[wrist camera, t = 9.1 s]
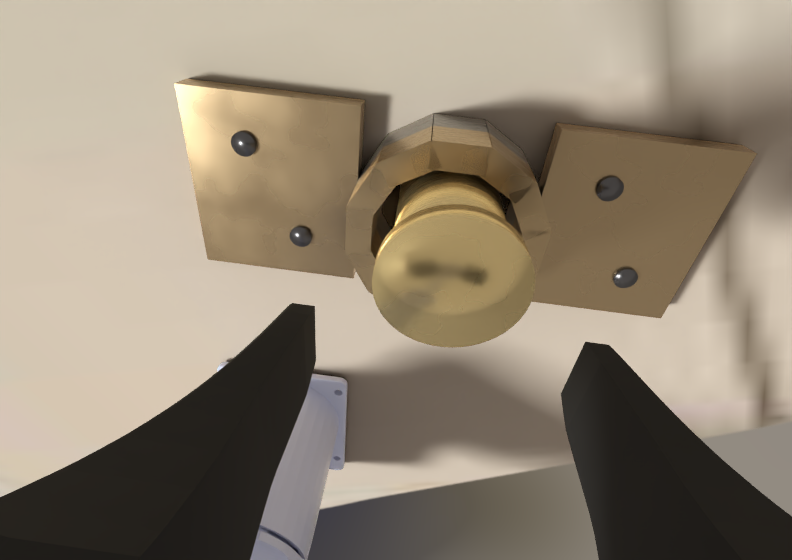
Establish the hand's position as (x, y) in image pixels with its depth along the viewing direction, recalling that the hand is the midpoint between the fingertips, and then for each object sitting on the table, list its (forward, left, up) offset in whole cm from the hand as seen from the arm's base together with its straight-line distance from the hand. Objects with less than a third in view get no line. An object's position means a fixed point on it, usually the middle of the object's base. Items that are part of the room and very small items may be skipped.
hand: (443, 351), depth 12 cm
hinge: (0, 0, -9) cm, 9 cm away
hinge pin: (+1, 0, -9) cm, 9 cm away
